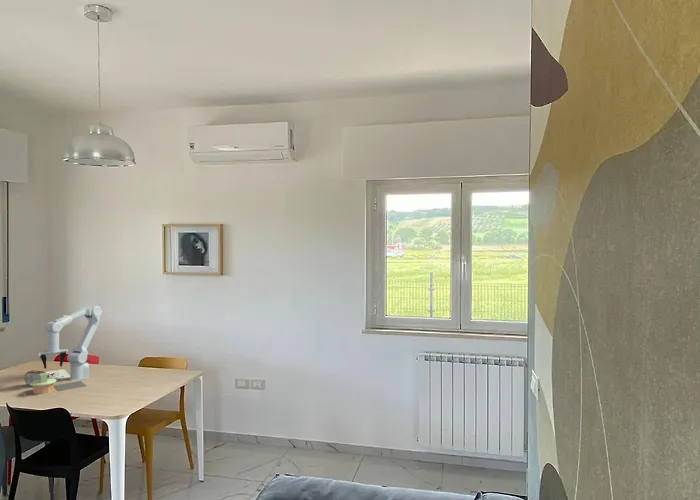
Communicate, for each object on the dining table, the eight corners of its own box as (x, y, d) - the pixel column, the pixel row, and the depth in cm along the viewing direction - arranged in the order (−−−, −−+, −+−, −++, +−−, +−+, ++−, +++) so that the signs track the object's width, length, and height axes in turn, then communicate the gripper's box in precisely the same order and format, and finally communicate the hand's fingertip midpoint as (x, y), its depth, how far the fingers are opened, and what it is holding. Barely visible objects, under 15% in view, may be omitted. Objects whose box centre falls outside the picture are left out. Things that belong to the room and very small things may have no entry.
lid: (53, 378, 266) (53, 370, 266) (58, 383, 257) (58, 374, 257) (28, 382, 258) (28, 374, 258) (31, 387, 249) (31, 378, 249)
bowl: (51, 388, 264) (51, 379, 264) (54, 392, 258) (54, 383, 258) (32, 392, 258) (31, 382, 258) (34, 395, 252) (34, 386, 252)
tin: (49, 386, 270) (49, 371, 270) (44, 387, 267) (44, 372, 267) (28, 384, 274) (28, 369, 274) (23, 385, 271) (23, 371, 271)
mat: (80, 381, 278) (80, 380, 278) (86, 386, 268) (86, 385, 268) (52, 386, 269) (52, 385, 269) (58, 391, 258) (58, 391, 258)
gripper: (39, 345, 263) (39, 370, 263) (69, 342, 272) (69, 366, 272) (37, 343, 268) (37, 368, 268) (66, 340, 278) (66, 364, 277)
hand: (53, 367), depth 270 cm, fingers open, 7 cm apart
